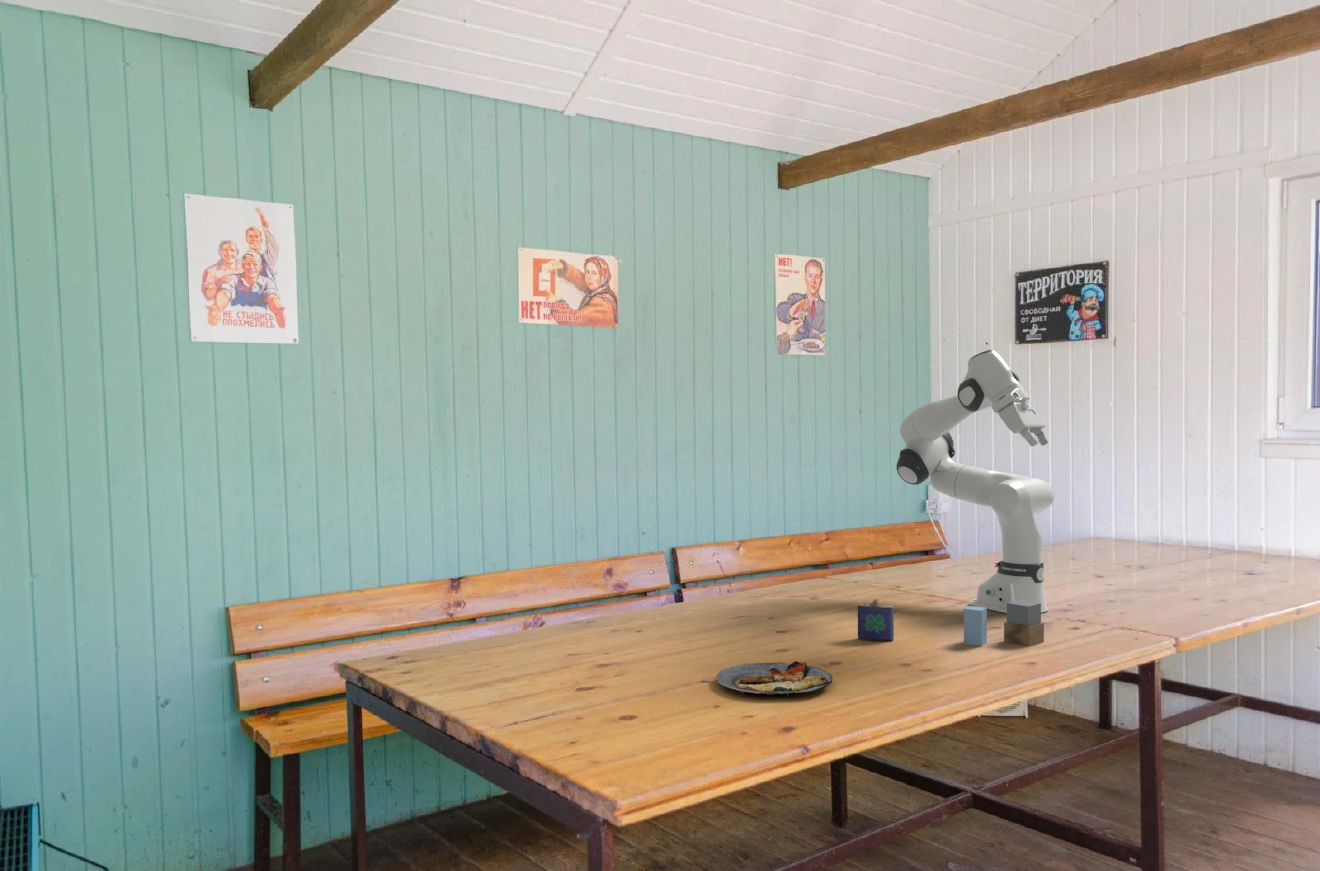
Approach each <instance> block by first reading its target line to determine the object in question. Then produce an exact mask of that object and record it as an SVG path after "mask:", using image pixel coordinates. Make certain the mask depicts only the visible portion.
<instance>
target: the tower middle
mask: <svg viewBox="0 0 1320 871" xmlns="http://www.w3.org/2000/svg"><path fill="white" fill-rule="evenodd" d="M1006 622H1008V623H1013V624H1018V625H1024V626H1031V625H1035V624H1039V623H1042V612H1041V603H1035V602H1029V601H1023V600H1018V601H1013V602H1009V603H1007V613H1006Z"/></svg>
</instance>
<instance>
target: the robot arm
mask: <svg viewBox="0 0 1320 871" xmlns="http://www.w3.org/2000/svg"><path fill="white" fill-rule="evenodd" d="M967 367H968V368H967V372H966V375H965V377H964V378H963V380H962V382H961V383H960V384H959V386H958V388H957V392H956V393H957V395H953V396H949V397H943V398H941V399H938V400H933V401H931V402H927V403H924V404H923V405H921V406H919V407H917V408H916V409H914V410H913V411H912V412H911V413H909V414H908V415H907V416H906V417H905V419H904V420H903V421H902V422H901V424H900V428H899V430H900V431H899V433H900V436H901V438H902V439H903V441H904V442H905V444H906V445H905V447H904V449H900V452H899V456H898V459H897V462H896V465H895V466H896V471H897V474H898V476H899V477H900V479H901V480H902V481H904V482H905V483H907V484H909V485H912V486H913V485H914V486H917V485H920V484H922V483H923V482H925V481H927V479H928V478H929V480H930V483H931V486H932V487H933V489H934V490H936V491H937V492H940V494H941V493H942V494H944V495H946V496H948V497H951V498H953V499H957V500H960V501H964V502H968V503H971V504H976V505H980V506H984V507H991V508H992V510H993V511H994V512H995V513H996V516H997V520H998V522H999V525H1000V526H999V527H1000V531H1001V537H1002V542H1001V543H1002V560H1000V561H998V562H996V563H994V568H997V570H996V573H994V574H993V575H991V576H990V577H988V578H987V579H985V580H984V581H983V582H981V583H980V584H979V586H978V590H977V593H976V594H977V595H976V598H973V599H970V600H969V605H968V606H975V607H985V608H987V610H990V611H994V612H995V611H996V612H1000V613H1003V614H1007V603H1009V602H1013V601H1018V600H1023V601H1029V602H1035V603H1041V613H1045V612H1048V611H1049V609H1048V605H1047V601H1046V597H1045V591H1044V580H1045V579H1044V577H1045V576H1044V575H1045V574H1044V572H1045V570H1044V569H1045V566H1044V562H1043V536H1042V534H1041V532H1039V530H1038V527H1037V524H1036V521H1035V515H1037V514H1040V513H1042V512H1044V511H1045V510H1047V509H1048V508H1049V507H1051V505H1052V504H1053V502H1054V500H1055V492H1054V489H1053V487H1052V486H1051V485H1050V483H1049V482H1047V481H1046V480H1044V479H1041V478H1036V477H1031V476H1026V475H1021V474H1014V473H1011V472H1010V473H1009V472H1004V471H1003V472H1002V471H996V470H992V469H991V470H990V469H985V468H981V467H977V466H973V465H969V464H964V463H959V462H956V461H954V460H953V458H954V456H955V455H956V451H955V449H954V446H955V445H954V440H953V438H952V435H951V433H950V431H951V430H952V429H954V428H955V427H956V426H958V425H959V424H961V423H962V422H963V421H964V420H966V419H967V418H968V417H969V416H971V415H973V414H974V413H975V412H980V411H983V410H985V409H988V408H990V407H991V409H992V412H994V413H995V414H998V416H999V418H1000V419H1001V420H1002V422H1003V423H1004V424H1005V425H1006V427H1007V428H1008V429H1009V430H1010V431H1011V432H1012V433H1013V434H1020V435H1021V437H1022V438H1023V439H1024V440H1025V441H1026V442H1027V443H1028V445H1029V446H1030V447H1035V446H1037V445H1038V444H1040V446H1042V447H1044V446H1046V445H1048V444H1049V440H1048V438H1047V437H1046V434H1045V431H1044V429H1045V428H1046V423H1045V421H1044V420H1043V419H1042V417H1041V416H1040V415H1039V413H1038V412H1037V410H1036V409H1035V407H1033V406H1032V405H1031V404H1029V403H1028V401H1029V400H1030V396H1029V394H1028V393H1027V392H1026V390H1025V389H1024V388H1023V386H1022V384H1021V382H1020V378H1019V376H1018V374H1017V373H1016V372H1015V371H1014V370H1013V369H1012V368H1010V366H1009V365H1008V364H1007V362H1006V361H1005V360H1004V358H1002V356H1001V355H1000V354H999V353H998V352H997V351H995V350H994V349H987V350H984V351H982V352H980V353H977V354H975V355H973V356H972V357H971V358H969V359H968V361H967ZM1033 434H1034V436H1036V437H1034V436H1033Z"/></svg>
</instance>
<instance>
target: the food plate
mask: <svg viewBox="0 0 1320 871" xmlns="http://www.w3.org/2000/svg"><path fill="white" fill-rule="evenodd" d="M716 678H717V682H718V684H720V685H721V686H723V687H725V688H728V689H732V690H736V691H737V692H739V693H740V694H746V693H752V694H755V695H756V694H757V695H759V694H764V695H769V696H772V695H775V694H778V695H779V694H780V695H784V694H786V696H789V694H792V693H793V694H799V693H800V694H801V693H811V692H816V691H817V692H818V691H820V690H822V689H824V688H826V687H828V686H829V685H830V684H832V683H833V676H832V674H831V673H830V672H828V671H827V670H825V669H822V668H819V667H817V666H813V665H810V664H808V665H807V662H805V661H803V662H800V661H796V660H795V661H793V662H792V663H790V662H782V661H781V662H780V661H779V662H755V663H754V662H753V663H751V662H750V663H744V664H737V665H733V666H730V667H727V668H725V669H721V670H720V671H719V672H718V673H717V674H716ZM737 682H738V684H737Z"/></svg>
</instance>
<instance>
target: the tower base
mask: <svg viewBox="0 0 1320 871" xmlns="http://www.w3.org/2000/svg"><path fill="white" fill-rule="evenodd" d="M1044 636H1045V623H1044V622H1041V623H1039V624H1035V625H1031V626H1024V625H1018V624H1013V623H1008V622H1007V621H1005V622H1003V642H1005V643H1006V642H1007V643H1011V644H1015V645H1021V646H1025V647H1026V646H1027V647H1031V646H1034V645H1035V646H1036V645H1038V644H1041V643H1044V642H1045V637H1044Z"/></svg>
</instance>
